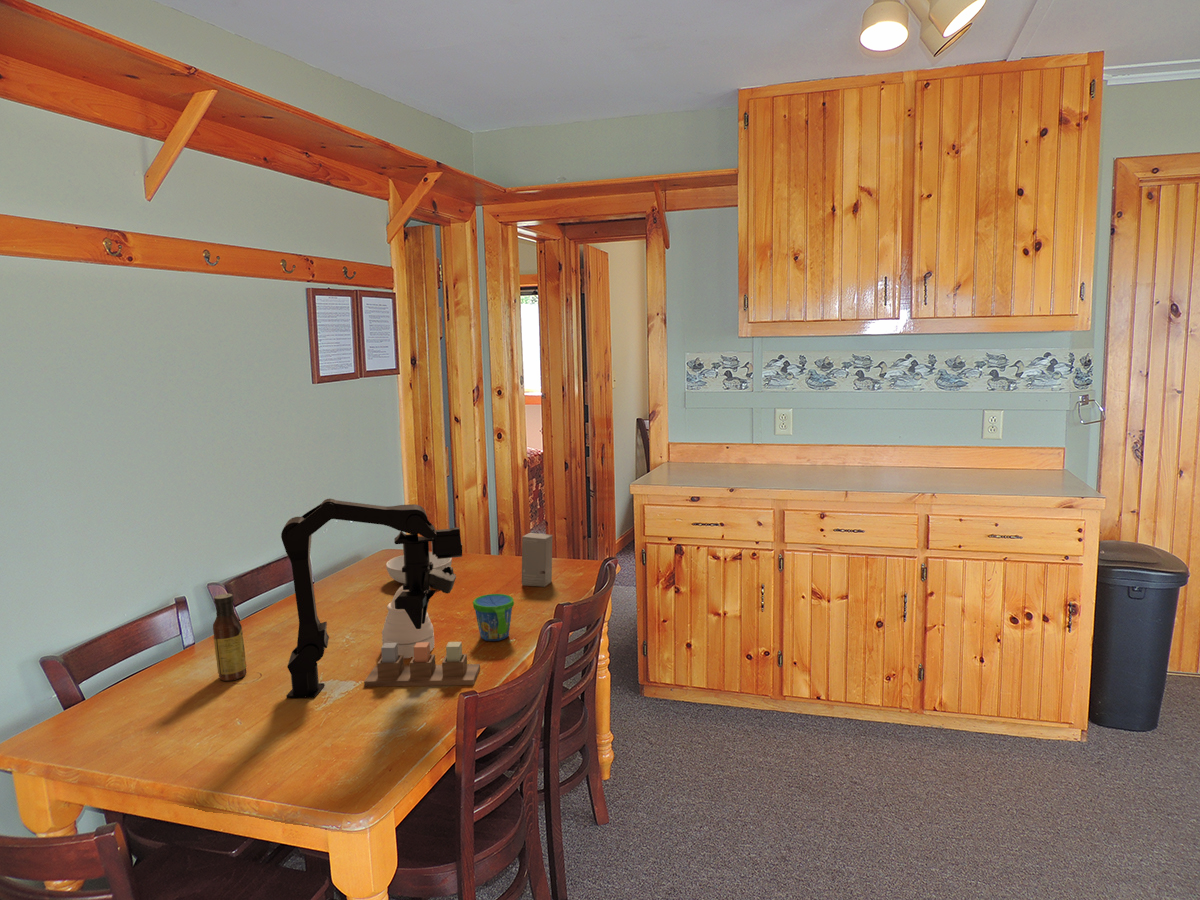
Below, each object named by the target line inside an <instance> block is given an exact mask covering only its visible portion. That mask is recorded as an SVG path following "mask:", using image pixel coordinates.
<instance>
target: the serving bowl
mask: <svg viewBox="0 0 1200 900" xmlns="http://www.w3.org/2000/svg"><path fill="white" fill-rule="evenodd" d="M429 560H430V562H432V563H433V568H434V569H437V570H439V569H441V571H442V570H443V569H444V568H445V567H446V566H450V567H452V563H453V562H452V561H453V558H443V559H437V557H435V555H432V551H429ZM403 566H404V554H403V555H399V556H395V557H393V558H391V559H389V560H388V561H387V562H386V564H385V567H386V571H387V573H388V575H389V577H390V578H392V579H393V580H394V581H395V582H398V583H400V584H403V585H404V584H405V572H402V567H403Z"/></svg>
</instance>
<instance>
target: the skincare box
mask: <svg viewBox="0 0 1200 900" xmlns="http://www.w3.org/2000/svg"><path fill="white" fill-rule="evenodd" d="M521 539H522V540H521V541H522V543H521V546H522V547H521V585H522V586H527V587H528V586H529V587H543V588H545V587H547V586H549V584H551V583H552V580H553V579H552V578H553V577H552V576H553V575H552V574H553V572H552V571H553V534H547V533H546V534H545V533H535V532H528V533H527V534H524V535H522V538H521Z"/></svg>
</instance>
